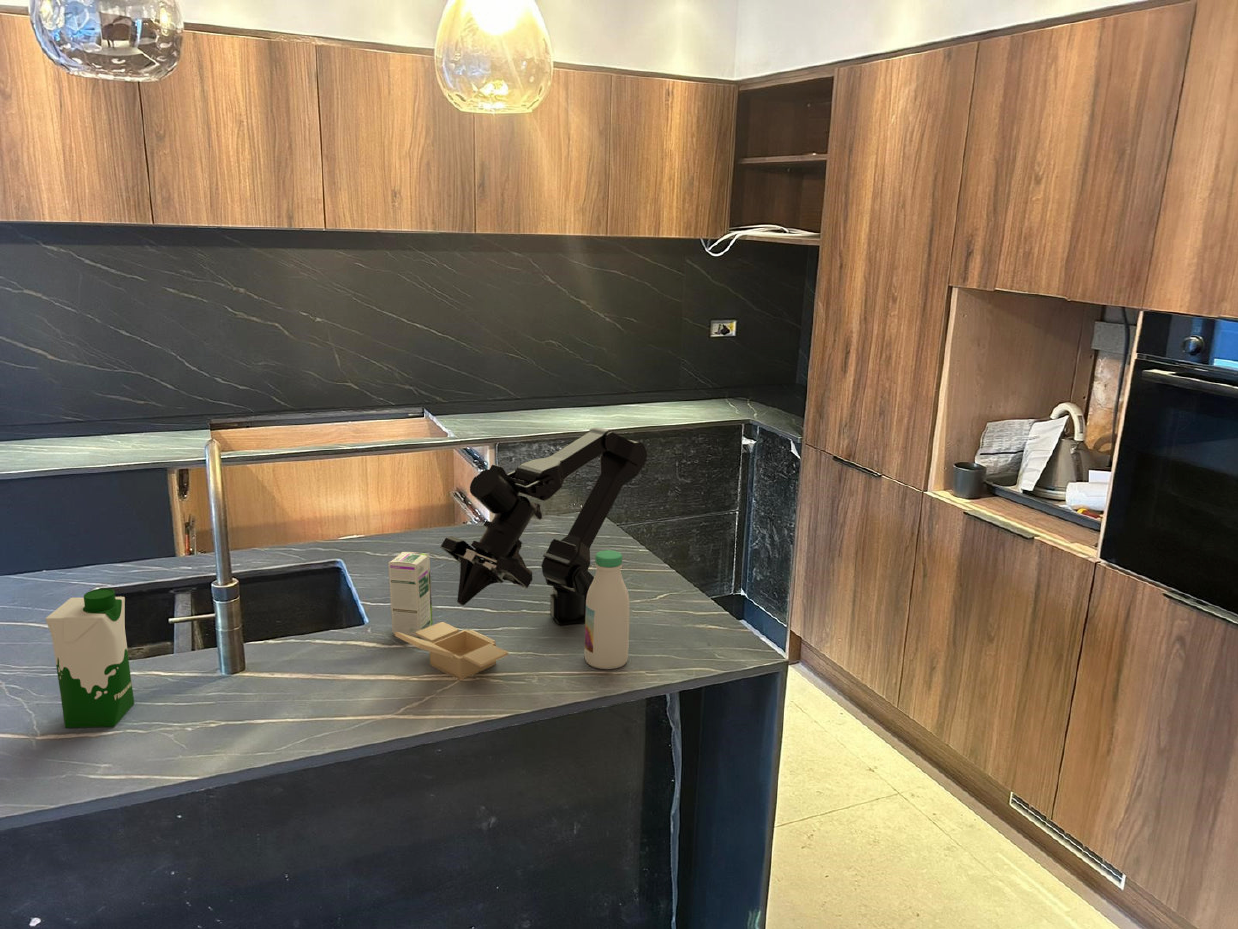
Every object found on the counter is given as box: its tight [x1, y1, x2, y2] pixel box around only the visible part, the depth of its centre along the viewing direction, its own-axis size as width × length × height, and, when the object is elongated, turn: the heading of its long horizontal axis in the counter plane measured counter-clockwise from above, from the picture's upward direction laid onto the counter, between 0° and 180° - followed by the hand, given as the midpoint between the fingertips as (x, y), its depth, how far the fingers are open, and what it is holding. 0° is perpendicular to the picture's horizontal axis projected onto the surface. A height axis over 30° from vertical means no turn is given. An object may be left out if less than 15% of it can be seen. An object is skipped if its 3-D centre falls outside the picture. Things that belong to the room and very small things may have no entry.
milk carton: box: [45, 588, 135, 729], centre depth 136 cm, size 9×9×20 cm
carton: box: [415, 621, 509, 681], centre depth 157 cm, size 9×17×4 cm, turn 50°
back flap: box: [393, 632, 454, 658], centre depth 149 cm, size 1×6×8 cm
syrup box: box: [387, 551, 434, 638], centre depth 168 cm, size 6×6×14 cm
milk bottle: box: [584, 549, 630, 670], centre depth 158 cm, size 8×8×20 cm
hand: (460, 604), depth 154 cm, fingers closed
